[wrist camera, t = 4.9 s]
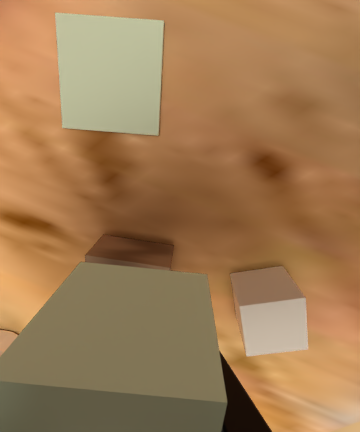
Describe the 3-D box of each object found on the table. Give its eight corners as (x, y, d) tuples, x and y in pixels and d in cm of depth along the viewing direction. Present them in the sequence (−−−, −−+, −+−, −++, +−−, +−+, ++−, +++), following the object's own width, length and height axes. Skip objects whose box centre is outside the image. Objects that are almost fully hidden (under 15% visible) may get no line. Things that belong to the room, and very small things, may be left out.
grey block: (282, 265, 21) (305, 297, 17) (285, 309, 23) (308, 349, 18) (229, 273, 22) (239, 306, 17) (235, 315, 23) (246, 356, 19)
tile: (164, 23, 16) (163, 20, 16) (158, 135, 18) (158, 135, 18) (58, 15, 16) (55, 12, 16) (64, 128, 18) (62, 127, 18)
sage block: (207, 274, 9) (226, 402, 5) (192, 370, 10) (197, 539, 6) (80, 261, 9) (-20, 379, 5) (83, 360, 10) (7, 522, 6)
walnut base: (174, 244, 21) (170, 267, 17) (164, 303, 23) (159, 336, 19) (104, 233, 21) (85, 254, 17) (100, 293, 23) (82, 324, 19)
